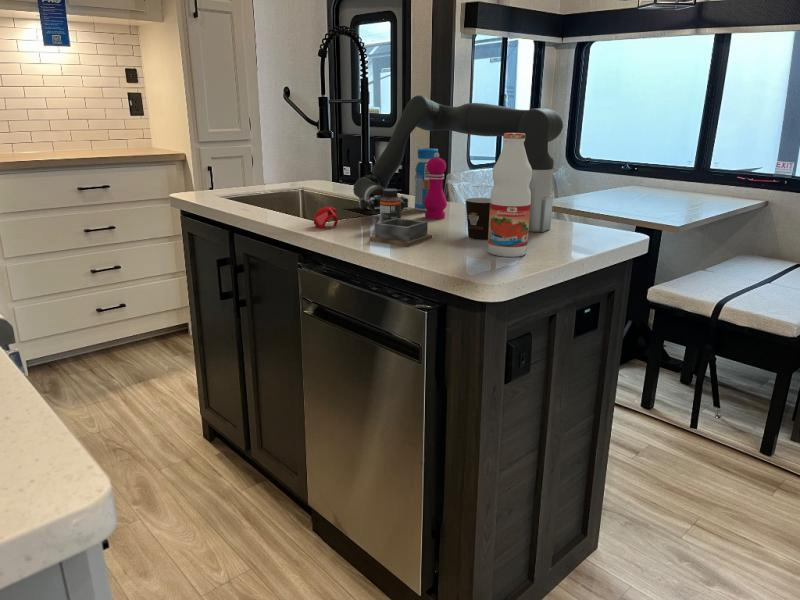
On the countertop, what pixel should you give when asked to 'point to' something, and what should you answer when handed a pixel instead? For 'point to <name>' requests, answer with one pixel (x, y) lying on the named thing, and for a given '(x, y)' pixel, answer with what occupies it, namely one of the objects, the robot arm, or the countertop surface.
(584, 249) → the countertop surface
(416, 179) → the beverage bottle
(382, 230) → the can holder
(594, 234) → the countertop surface
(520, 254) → the fruit juice
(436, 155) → the pepper mill
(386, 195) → the supplement bottle
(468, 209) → the coffee mug
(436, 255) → the countertop surface
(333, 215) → the red toy crab
